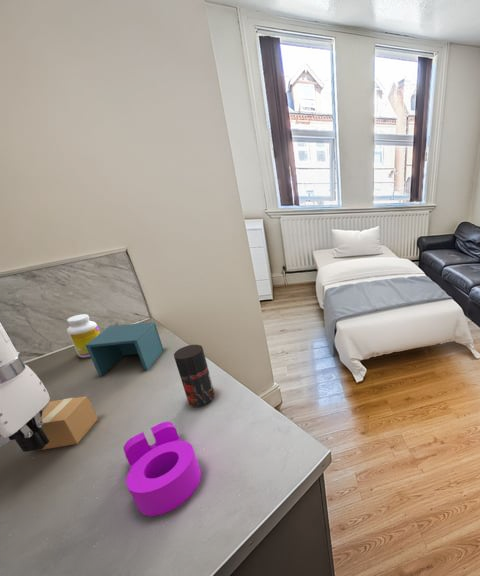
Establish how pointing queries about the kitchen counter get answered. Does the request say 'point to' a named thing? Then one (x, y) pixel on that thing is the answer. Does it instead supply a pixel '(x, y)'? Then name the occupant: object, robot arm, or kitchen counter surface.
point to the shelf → (125, 345)
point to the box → (67, 421)
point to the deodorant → (194, 375)
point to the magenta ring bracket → (161, 470)
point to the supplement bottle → (82, 333)
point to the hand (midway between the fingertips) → (36, 447)
